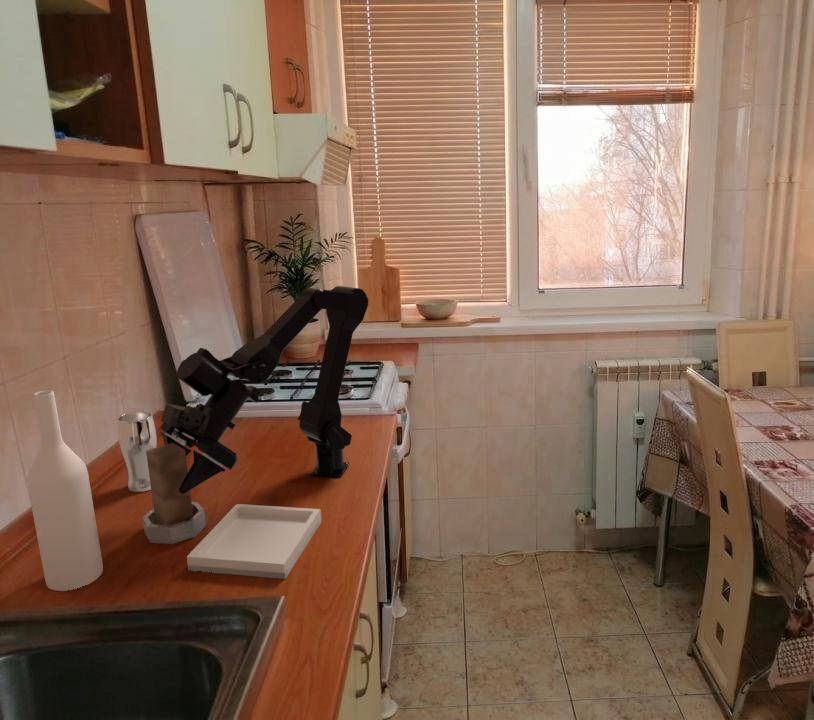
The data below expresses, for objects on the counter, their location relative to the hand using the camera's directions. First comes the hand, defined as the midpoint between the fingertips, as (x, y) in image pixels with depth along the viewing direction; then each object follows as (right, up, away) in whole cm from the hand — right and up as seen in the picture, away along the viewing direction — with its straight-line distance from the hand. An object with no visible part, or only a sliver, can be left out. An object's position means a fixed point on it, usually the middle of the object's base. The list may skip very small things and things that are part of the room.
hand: (168, 484), depth 113 cm
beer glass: (-12, -4, +20) cm, 24 cm away
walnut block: (0, -8, +2) cm, 9 cm away
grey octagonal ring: (0, -8, +2) cm, 9 cm away
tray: (+17, -9, -4) cm, 19 cm away
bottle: (-10, -12, -11) cm, 20 cm away
